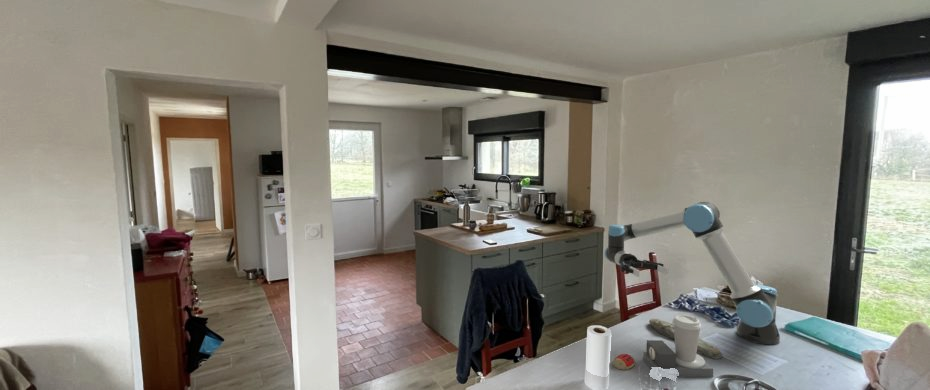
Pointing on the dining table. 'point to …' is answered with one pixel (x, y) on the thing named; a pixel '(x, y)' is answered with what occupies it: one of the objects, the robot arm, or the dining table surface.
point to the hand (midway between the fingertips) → (653, 272)
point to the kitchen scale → (674, 360)
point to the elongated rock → (668, 331)
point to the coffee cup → (686, 337)
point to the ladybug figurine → (624, 362)
